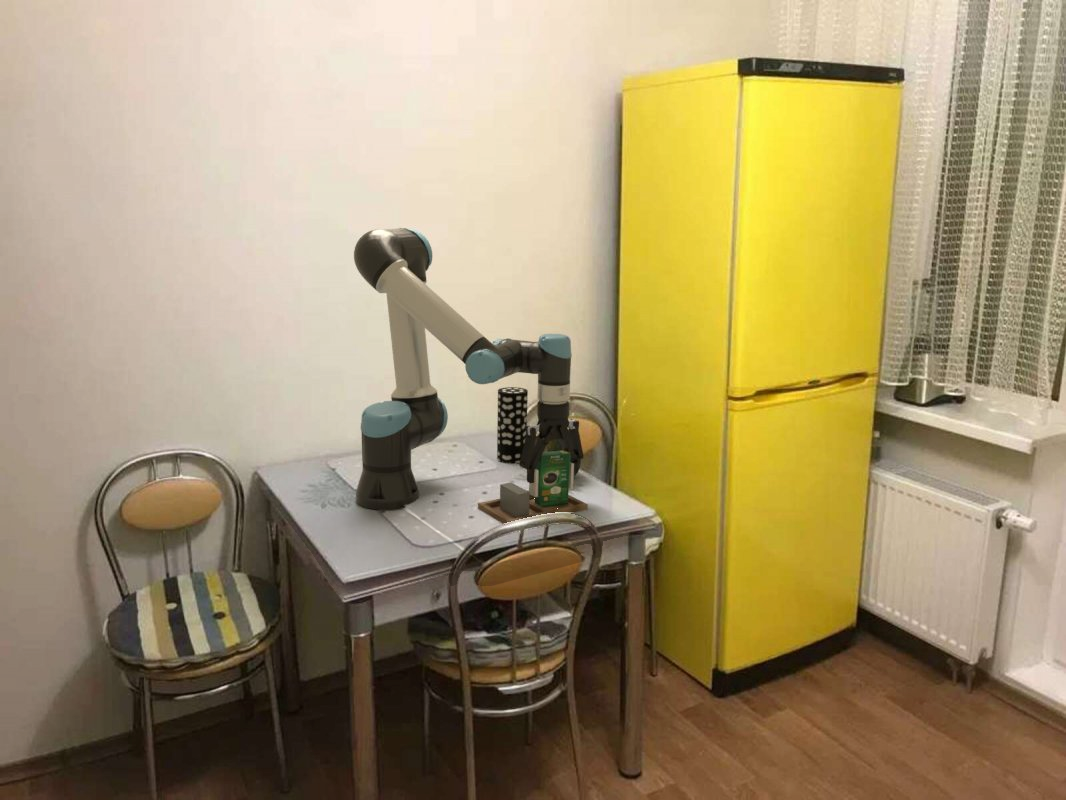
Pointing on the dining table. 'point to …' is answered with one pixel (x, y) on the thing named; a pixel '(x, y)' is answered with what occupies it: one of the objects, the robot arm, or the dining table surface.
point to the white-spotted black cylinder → (511, 423)
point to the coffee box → (553, 478)
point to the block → (514, 500)
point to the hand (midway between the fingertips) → (551, 491)
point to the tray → (530, 508)
